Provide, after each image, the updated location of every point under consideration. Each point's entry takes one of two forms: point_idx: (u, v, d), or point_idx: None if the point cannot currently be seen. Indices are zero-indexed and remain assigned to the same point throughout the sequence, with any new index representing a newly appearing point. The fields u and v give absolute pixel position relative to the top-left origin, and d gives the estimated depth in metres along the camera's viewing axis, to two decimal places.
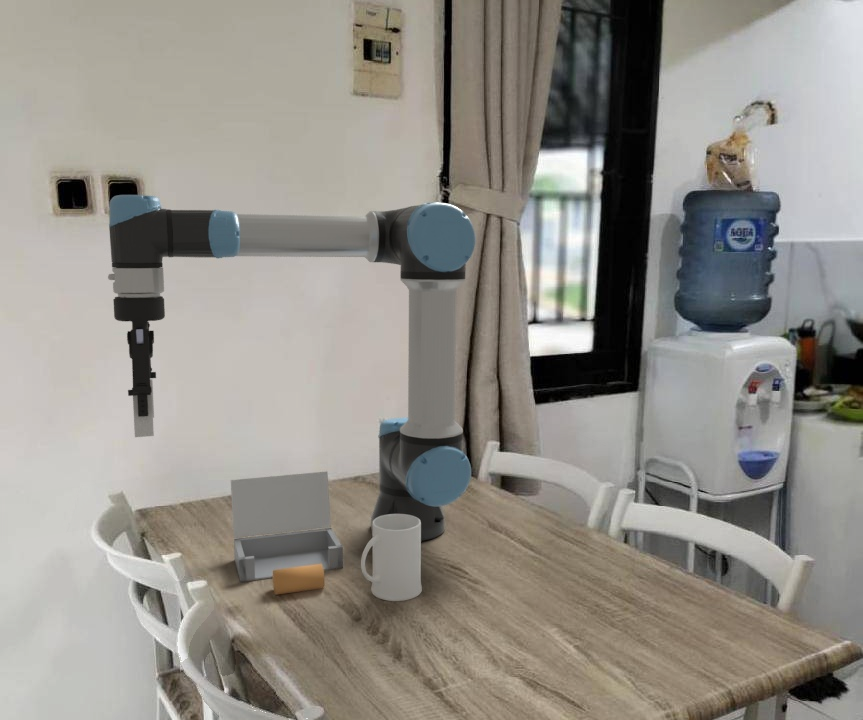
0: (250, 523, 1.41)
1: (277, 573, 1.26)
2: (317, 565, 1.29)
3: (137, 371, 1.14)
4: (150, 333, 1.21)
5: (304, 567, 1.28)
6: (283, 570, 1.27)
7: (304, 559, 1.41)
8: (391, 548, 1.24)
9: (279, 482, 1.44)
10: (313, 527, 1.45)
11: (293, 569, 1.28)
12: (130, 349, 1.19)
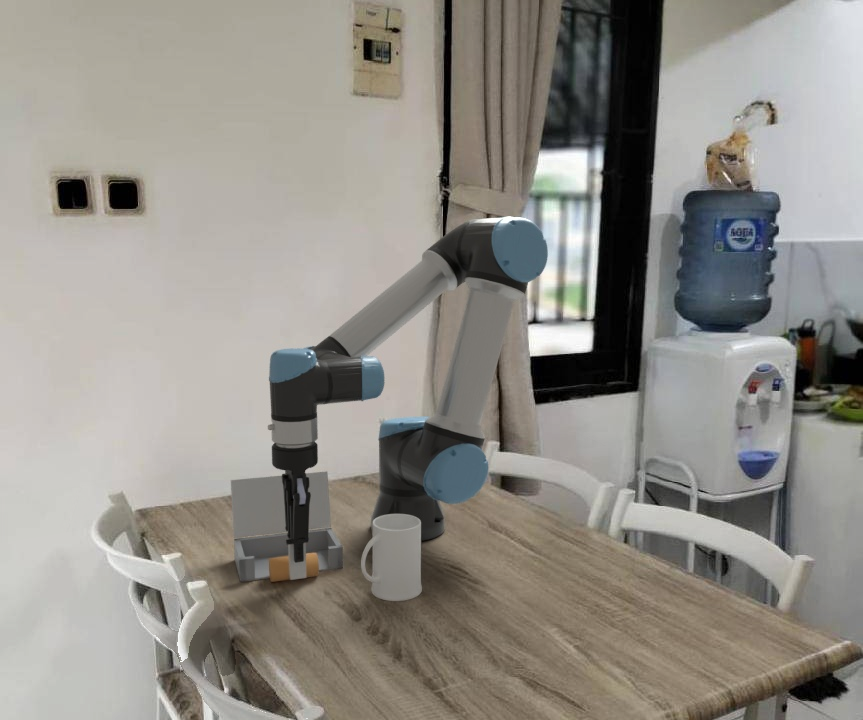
0: (250, 523, 1.41)
1: None
2: None
3: (298, 528, 1.25)
4: (306, 481, 1.27)
5: None
6: None
7: None
8: (391, 548, 1.24)
9: (279, 482, 1.44)
10: (313, 527, 1.45)
11: None
12: (288, 500, 1.26)
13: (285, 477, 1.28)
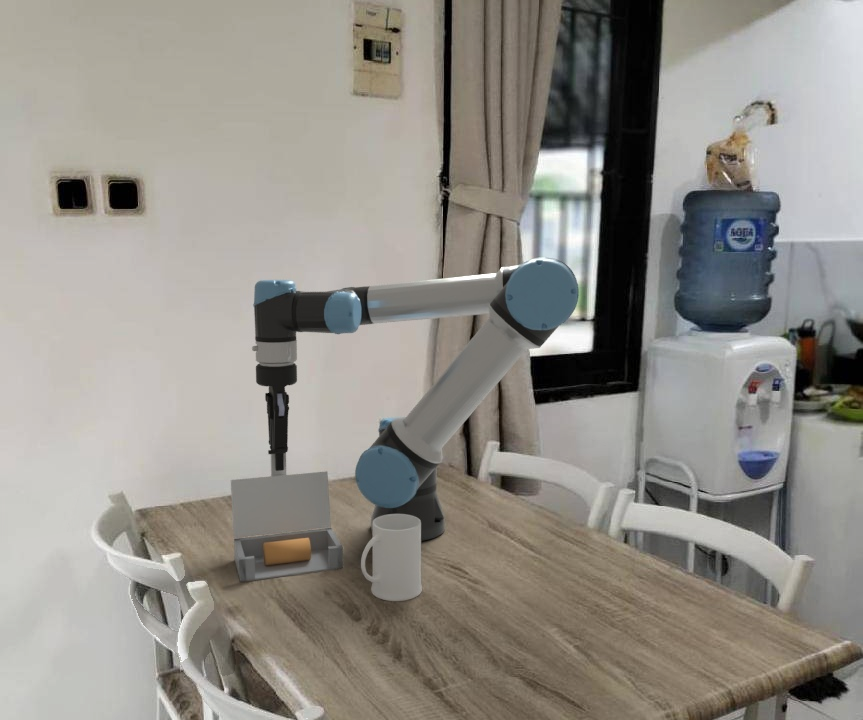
0: (250, 523, 1.41)
1: (268, 552, 1.36)
2: (305, 544, 1.39)
3: (278, 438, 1.41)
4: (286, 397, 1.43)
5: (293, 546, 1.38)
6: (274, 549, 1.37)
7: None
8: (391, 548, 1.24)
9: (279, 482, 1.44)
10: (313, 527, 1.45)
11: (283, 547, 1.37)
12: (270, 413, 1.42)
13: (268, 394, 1.44)
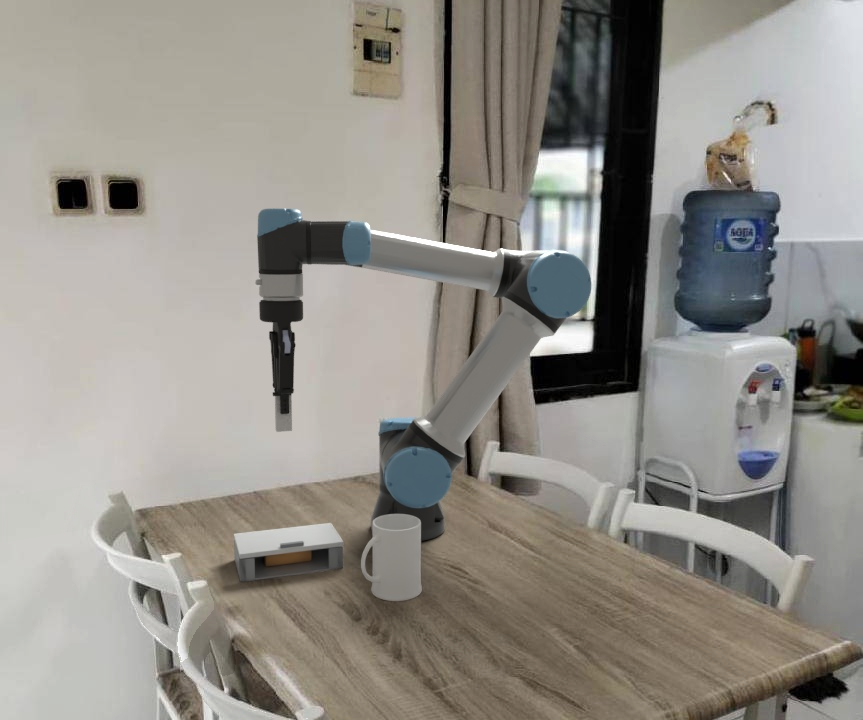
0: None
1: (268, 556, 1.35)
2: None
3: (283, 378, 1.32)
4: (292, 335, 1.34)
5: None
6: None
7: None
8: (391, 548, 1.24)
9: None
10: None
11: None
12: (275, 352, 1.33)
13: (272, 333, 1.35)
